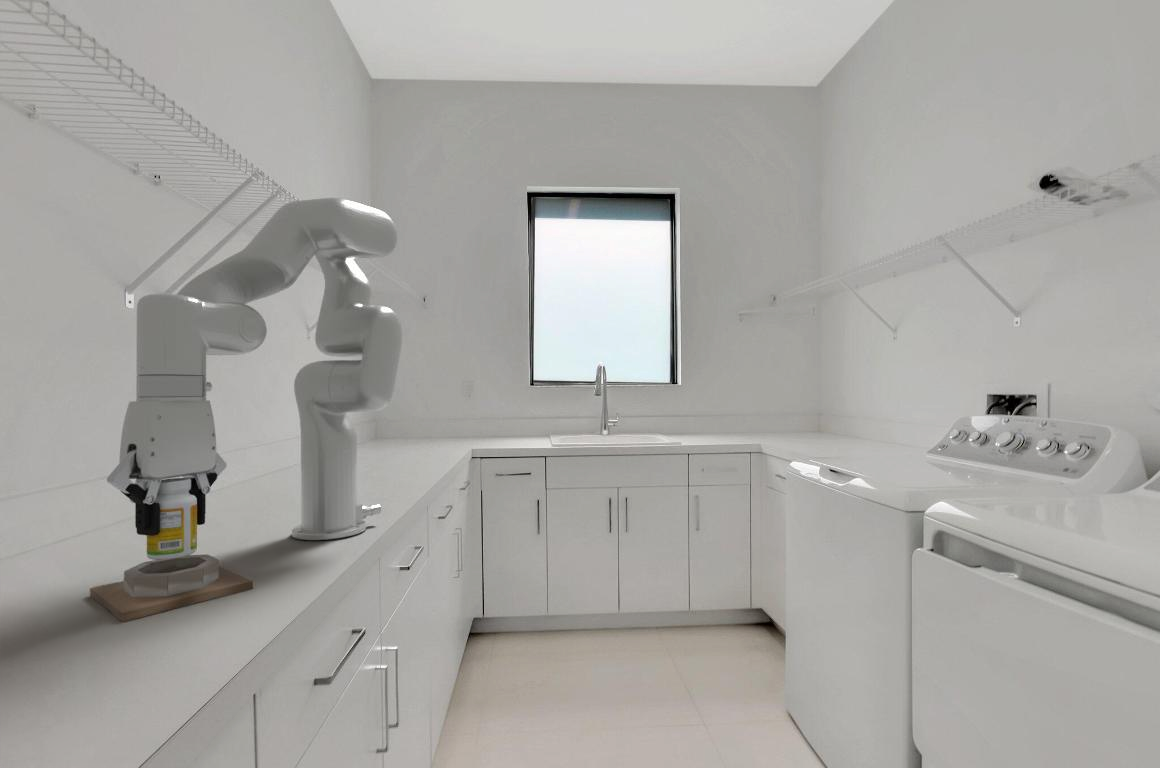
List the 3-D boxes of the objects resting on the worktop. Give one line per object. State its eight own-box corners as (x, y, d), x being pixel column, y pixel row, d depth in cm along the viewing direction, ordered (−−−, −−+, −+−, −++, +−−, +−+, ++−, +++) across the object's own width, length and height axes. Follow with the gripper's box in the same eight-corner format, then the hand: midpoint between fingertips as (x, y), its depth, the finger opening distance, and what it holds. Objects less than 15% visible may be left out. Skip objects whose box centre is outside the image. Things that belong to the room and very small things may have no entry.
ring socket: (211, 568, 86) (211, 545, 86) (253, 588, 77) (253, 561, 77) (90, 595, 75) (90, 568, 75) (122, 621, 66) (122, 590, 66)
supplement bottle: (177, 548, 80) (178, 476, 80) (206, 551, 78) (207, 478, 78) (136, 558, 75) (136, 482, 75) (166, 562, 73) (166, 483, 73)
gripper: (210, 390, 86) (210, 514, 86) (79, 390, 70) (78, 543, 69) (250, 390, 84) (250, 517, 83) (123, 389, 67) (122, 548, 67)
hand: (172, 527), depth 76 cm, fingers closed on supplement bottle, 5 cm apart
